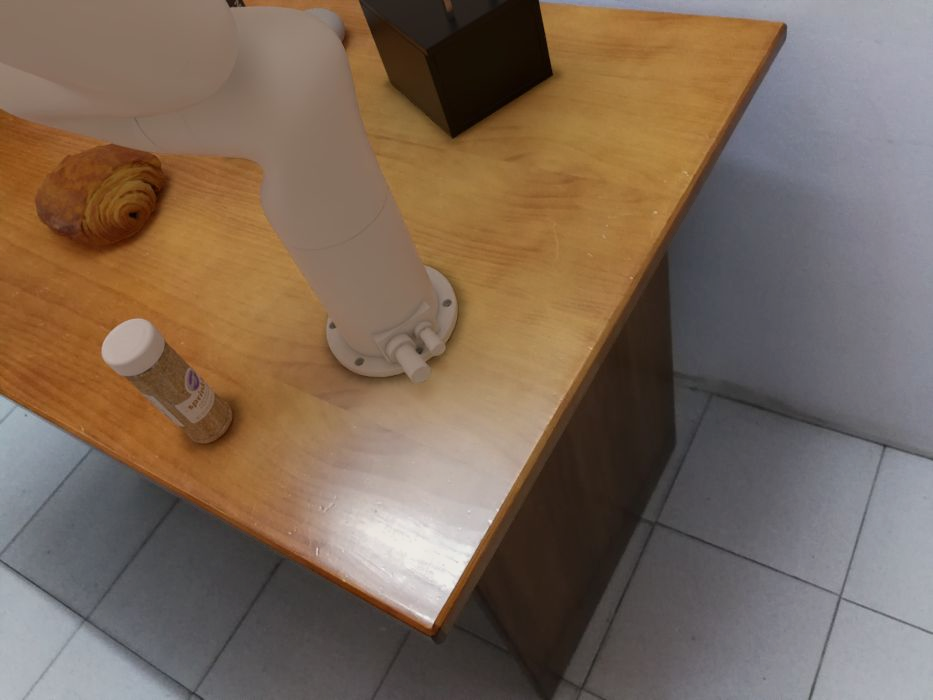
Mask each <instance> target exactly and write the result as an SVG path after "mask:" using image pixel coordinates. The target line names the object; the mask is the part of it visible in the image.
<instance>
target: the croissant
mask: <svg viewBox="0 0 933 700" xmlns="http://www.w3.org/2000/svg"><path fill="white" fill-rule="evenodd" d="M162 170H163V168H162V161H161V160H160V158H159V157H158V156H157V155H156V154H155V153H151V152H145V151H140V150H136V149H131V148H127V147H123V146H119V145H115V144H111V143H109V144H108V143H107V144H105V145H97V146H94V147H92V148H88V149H86V150H83V151H81V152H79V153H76V154H72V155H71V154H67V155H66V156H65V157H63V159H62V160H61V161H60V162H59V163H58V164H57V165H56V166H55V167H53V169H52V170H51V171H50V172H48V173H47V174H46V175H45V178H44V179H43V182H42V184H41V186H40V187H38V188H37V192H36V195H35V196H34V203H35V208H36V215H37V217H38V219H39V221H40V222H41V223H42V224H43V225H45V226H47V228H48V229H49V230H50V232H53V233H54V234H56V235H58V236H59V237H65V238H67V239H69V240H71V241H74V242H79V243H81V244H84V245H96V246H97V245H98V246H105V245H112V244H115V243H117V242H119V241H121V240H125V239H128V238H131V237H133V236H135V234H136V233H138V232H139V231H140V230H141V229H142V228H143V227H144V225H145V224H146V222H147V221H148V220H149V217H150V215H151V213H153V212H154V211H155V210H156V202H157V200H159V199H160V198H161V197H162V195H163V194H164V192H163V191H164V190H165V185H166V184H165V183H166V181H165V176H164V175H163V172H162Z"/></svg>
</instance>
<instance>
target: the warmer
mask: <svg viewBox="0 0 933 700" xmlns="http://www.w3.org/2000/svg"><path fill="white" fill-rule="evenodd" d="M358 3H359V6H360V8H361V10H362V13H363V16H364V18H365V21H366V23H367V26H368V29H369V32H370V34H371V37H372V39H373V41H374V44H375V47H376V50H377V52H378V55H379V56H380V60H381V63H382V65H383V68H384V70H385V72H386V75H387V77H388V80H389V83H390V84H391V85H392V86H393V87H394V88H395V89H396V90H397V91H398V92H399V93H401V95H403V96H404V97H405V98H407V100H409V101H410V102H411V103H412V104H413V105H414V106H416V108H418V109H419V110H420V111H421V112H422V113H423V114H424V115H426V117H428V118H429V119H430V120H431V121H432V122H433V123H434V124H436V125H437V126H438V127H439V128H440V129H441V130H442V131H443V132H444V133H446V135H448V136H449V137H450V138H451V139H454V138H456V137H458V136H460V135H461V134H463V133H464V132H465V131H467V130H469V129H470V128H471V127H474V126H475V125H477V124H478V123H480V122H481V121H483V120H484V119H486V118H487V117H489V116H491V115H493V114H495V113H496V112H497V111H499V110H500V109H502V108H503V107H506V106H507V105H508V104H510V103H512V102H513V101H514V100H516V99H518V98H519V97H521V96H522V95H524V94H525V93H527V92H529V91H530V90H532V89H534V88H535V87H537V86H538V85H540V84H542V83H543V82H545V81H546V80H548V79H549V78H551V77H553V75H554V72H553V68H552V61H551V58H550V51H549V46H548V41H547V35H546V31H545V25H544V20H543V15H542V9H541V4H540V0H521V1H519V2H517V3H516V4H514V5H512V6H511V7H509V8H507V9H506V10H504V11H503V12H501V13H499V14H498V15H496V16H494V17H493V18H491V19H489V20H488V21H486V22H485V23H483V24H481V25H480V26H478V27H476V28H475V29H473V30H471V31H470V32H468V33H466V34H465V35H463V36H462V37H460V38H458V39H457V40H455V41H453V42H452V43H450V44H448V45H447V46H445V47H444V48H442V49H440V50H439V51H437V52H435V53H434V54H432V55H430V56H429V57H428V56H427V55H426V54H424V53H423V52H422V51H421V50H419V49H418V48H417V47H416V46H414V45H413V44H412V43H411V42H409V41H408V40H407V39H406V38H404V37H403V36H402V35H401V34H399V33H398V32H397V31H396V30H394V29H393V28H392V27H391V26H389V25H388V24H387V23H386V22H384V21H383V20H382V19H381V18H379V17H378V16H377V15H376V14H375V13H373V12H372V11H371V10H370V9H368V8H367V7H366V6H365V5H363V4H362V3H361V2H360V1H359V0H358Z"/></svg>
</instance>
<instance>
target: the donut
mask: <svg viewBox="0 0 933 700" xmlns="http://www.w3.org/2000/svg"><path fill="white" fill-rule="evenodd" d="M302 11H303V12H306V13H309V14H311V15H313V16H315V17H317V18H319V19H320V20H322V21H323V22H325V23H326V24H327V25H328V26H329V27H330V28H331V29H332V30H333V31H334V32H335V33H336V35H337V36H338V37H339V39H340V40H341V42H342V43H343V41H344V39H345V36H346V27H345V23H344V20H343V19H342V18H341V17H340V15H339V14H338V13H337V12H335V11H333V10H331V9H328V8H323V7H313V8H307V9H304V10H302Z"/></svg>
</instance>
